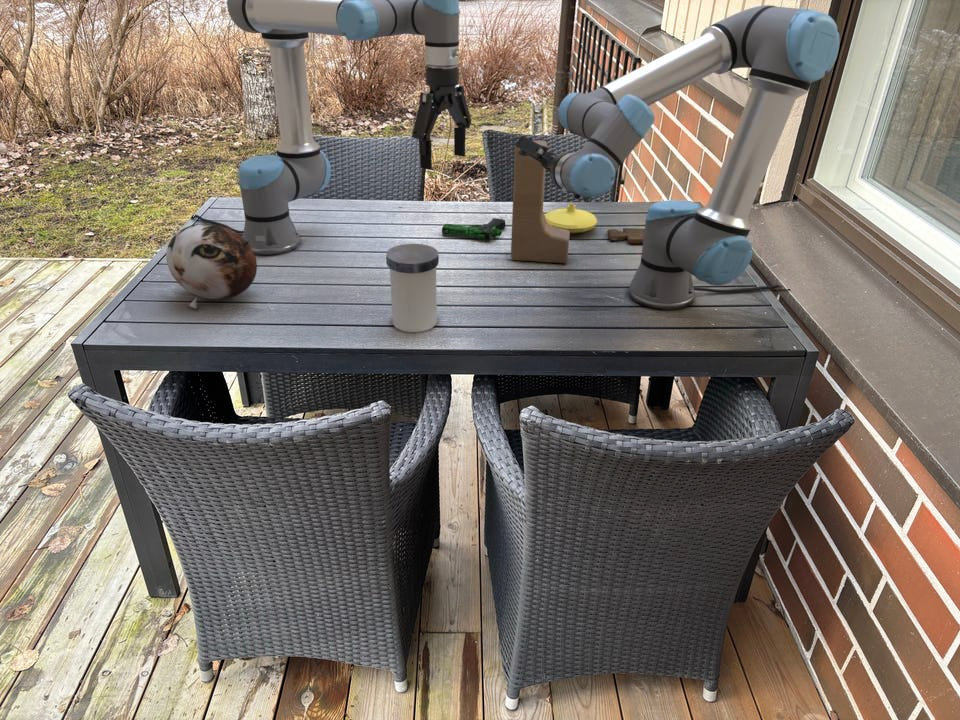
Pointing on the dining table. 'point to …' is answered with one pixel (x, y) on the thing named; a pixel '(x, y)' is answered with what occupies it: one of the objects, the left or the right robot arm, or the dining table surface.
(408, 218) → the dining table surface
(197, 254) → the cat face ball
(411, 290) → the jar
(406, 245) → the lid
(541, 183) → the decorative block
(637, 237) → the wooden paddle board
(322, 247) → the dining table surface
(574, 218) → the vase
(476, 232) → the handgun
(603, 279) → the dining table surface
